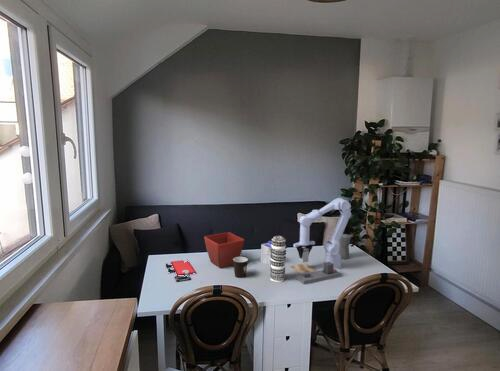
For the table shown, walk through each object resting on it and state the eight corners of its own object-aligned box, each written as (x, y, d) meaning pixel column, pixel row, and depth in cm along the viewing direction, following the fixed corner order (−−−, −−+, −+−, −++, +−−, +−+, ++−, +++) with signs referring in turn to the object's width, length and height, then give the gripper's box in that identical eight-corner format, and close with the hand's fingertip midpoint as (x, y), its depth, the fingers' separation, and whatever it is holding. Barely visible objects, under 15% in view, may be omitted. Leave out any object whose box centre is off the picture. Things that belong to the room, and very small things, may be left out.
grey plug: (304, 259, 213) (305, 246, 211) (308, 261, 209) (308, 249, 208) (299, 260, 211) (299, 247, 210) (302, 262, 207) (303, 249, 206)
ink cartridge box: (277, 264, 217) (277, 242, 215) (270, 266, 214) (271, 244, 212) (266, 260, 225) (267, 239, 223) (260, 262, 221) (260, 240, 219)
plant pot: (244, 264, 216) (245, 239, 214) (218, 271, 206) (218, 244, 203) (229, 255, 232) (229, 231, 229) (203, 261, 221) (203, 236, 218)
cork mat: (305, 264, 219) (305, 263, 219) (317, 271, 208) (317, 270, 208) (289, 267, 213) (289, 266, 213) (300, 274, 203) (300, 273, 203)
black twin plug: (328, 274, 203) (329, 261, 202) (332, 277, 200) (333, 264, 198) (323, 275, 201) (323, 262, 200) (327, 278, 198) (328, 265, 197)
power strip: (331, 272, 207) (331, 266, 206) (340, 277, 200) (340, 271, 199) (295, 279, 195) (295, 274, 195) (303, 285, 188) (303, 279, 188)
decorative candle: (273, 274, 202) (274, 233, 198) (288, 278, 197) (289, 236, 194) (266, 280, 194) (267, 237, 191) (281, 283, 190) (282, 240, 186)
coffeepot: (335, 259, 227) (337, 233, 225) (331, 254, 237) (332, 229, 234) (358, 259, 229) (359, 233, 226) (353, 254, 238) (354, 229, 235)
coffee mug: (236, 279, 194) (237, 263, 192) (230, 274, 202) (230, 258, 200) (254, 276, 199) (255, 259, 198) (248, 270, 207) (248, 255, 205)
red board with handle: (172, 283, 189) (199, 279, 195) (172, 278, 189) (199, 274, 195) (164, 264, 217) (187, 261, 222) (164, 260, 216) (187, 257, 222)
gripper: (310, 232, 214) (309, 253, 216) (290, 235, 208) (290, 256, 210) (317, 235, 208) (316, 256, 210) (297, 238, 202) (296, 260, 204)
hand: (303, 257), depth 210 cm, fingers closed on grey plug, 4 cm apart
